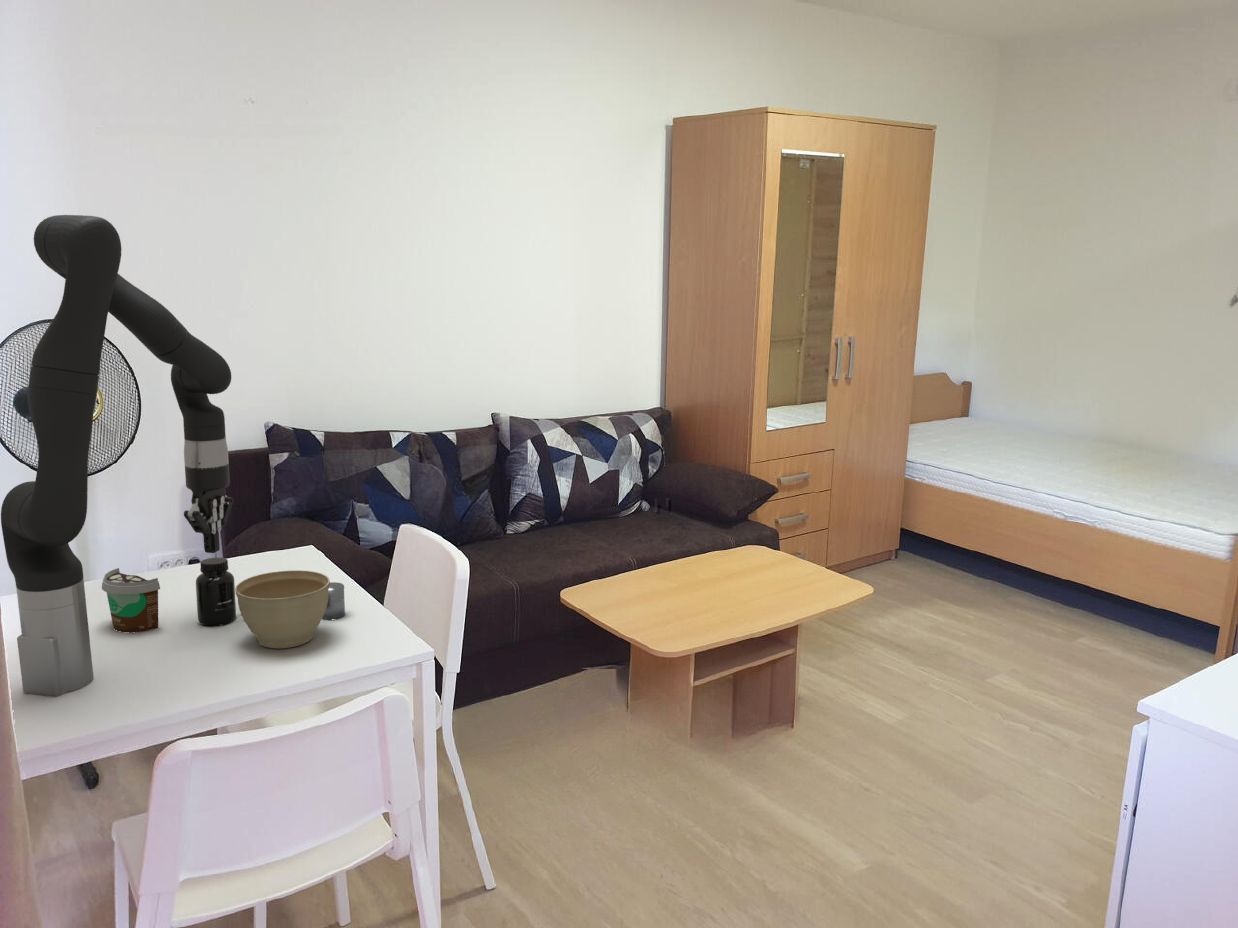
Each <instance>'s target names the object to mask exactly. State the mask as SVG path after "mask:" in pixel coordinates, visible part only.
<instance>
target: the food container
mask: <svg viewBox="0 0 1238 928" xmlns="http://www.w3.org/2000/svg"><path fill="white" fill-rule="evenodd" d="M101 590H102V591H103V592H105V593H106V597H107V602H108V607H109V611H110V617H111V623H112V628H113V630H114V629H115V630H114V631H116V630H117V631H116V632H118V631H121V632H120V633H123V632H129V633H130V634H134V633H133V632H135V633H136V632H137V633H143V632H148V631H153V630H156V629H158V628H159V590H161V585H160V582H159V580H158V578H157V577H156V578H152V579H145V578H144V577H141V576H139V575H136V574H135V575H133V574H131V575H130V574H126V573H122V572H120V568H119V567H118V568H113V569H112V570H110V571H107V573H105V574H104V577H103V579H102V584H101ZM129 633H128V634H129Z"/></svg>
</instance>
